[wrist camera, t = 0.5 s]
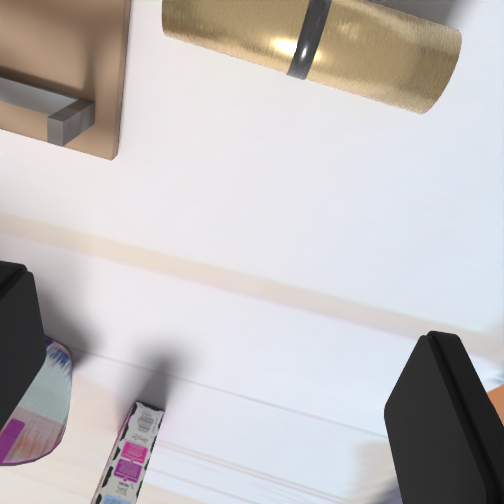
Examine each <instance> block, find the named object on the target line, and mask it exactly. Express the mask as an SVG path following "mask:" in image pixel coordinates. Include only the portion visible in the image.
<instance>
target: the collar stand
mask: <svg viewBox="0 0 504 504" xmlns="http://www.w3.org/2000/svg"><path fill="white" fill-rule="evenodd" d="M130 5H131V0H0V129H2V130H6V131H9V132H13V133H16V134H20V135H23V136H27V137H30V138H34V139H37V140H41V141H44V142H47V143H51V144H54V145H58V146H61V147H66V148H69V149H73V150H76V151H80V152H83V153H87V154H90V155H94V156H97V157H101V158H104V159H108V160H111V161H112V160H113V159H114V158H115V157H116V156H117V153H118V141H119V130H120V119H121V107H122V96H123V85H124V73H125V62H126V51H127V39H128V28H129V17H130Z"/></svg>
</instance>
